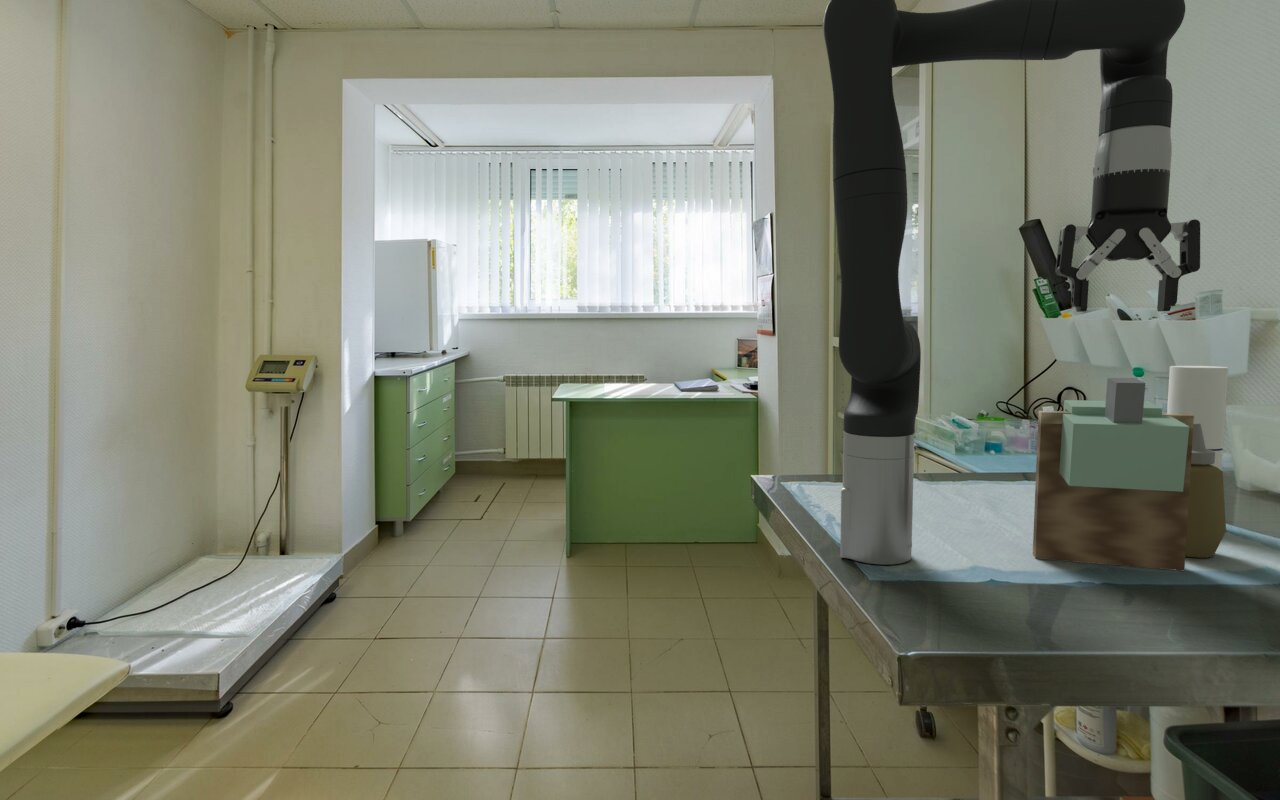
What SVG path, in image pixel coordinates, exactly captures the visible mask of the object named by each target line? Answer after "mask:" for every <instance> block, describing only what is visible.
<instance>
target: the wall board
mask: <svg viewBox="0 0 1280 800" xmlns="http://www.w3.org/2000/svg"><path fill="white" fill-rule="evenodd" d="M1063 414H1071V413H1070V412H1069V411H1064V410H1038V416H1037V420H1038V421H1037V439H1036V440H1037V443H1036V466H1035V487H1034V488H1035V490H1034V512H1033V513H1034V514H1033V517H1034V518H1033V533H1032V534H1033V536H1032V537H1033V539H1032V556H1033V557H1034V558H1035V559H1039V560H1050V561H1063V562H1074V563H1075V562H1077V563H1085V562H1089V564H1097V563H1100V565H1111V566H1123V567H1124V566H1125V567H1134V568H1137V567H1138V568H1147V569H1157V568H1160V570H1169V569H1176V570H1175V571H1181V570H1184V571H1185V567H1186V556H1185V553H1186V537H1187V521H1188V504H1189V488H1190V472H1191V456H1192V439H1193V423H1194V416H1193V415H1189V414H1167V413H1163V412H1162V416H1171V417H1173V418H1175V419H1177V420H1178V421H1180V422H1182V423H1184V424H1186V425H1187V426H1189V436H1188V446H1187V456H1186V467H1185V477H1184V487H1183V492H1179V491H1160V490H1141V489H1122V488H1102V487H1083V486H1069V485H1068V484H1067V482H1066V481H1065V480H1064V478H1063V477H1062V476H1061V474H1060V473H1059V466H1060V451H1061V436H1062V420H1063ZM1161 568H1162V569H1161Z"/></svg>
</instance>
